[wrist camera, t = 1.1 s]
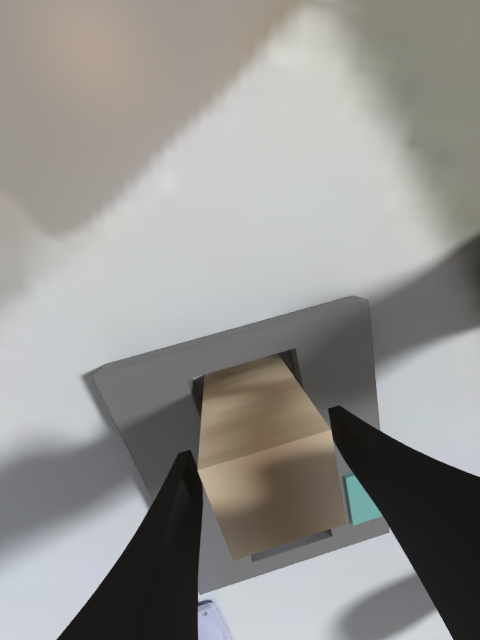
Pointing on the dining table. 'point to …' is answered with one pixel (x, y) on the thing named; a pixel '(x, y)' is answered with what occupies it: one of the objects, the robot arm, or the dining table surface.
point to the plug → (266, 458)
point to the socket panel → (186, 409)
